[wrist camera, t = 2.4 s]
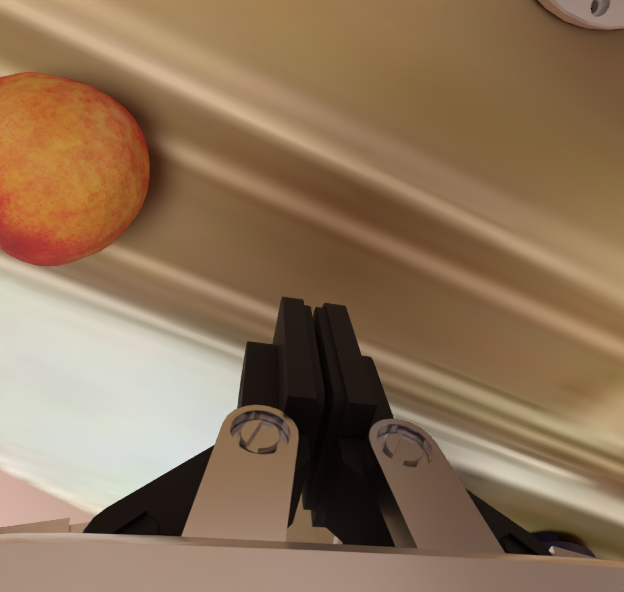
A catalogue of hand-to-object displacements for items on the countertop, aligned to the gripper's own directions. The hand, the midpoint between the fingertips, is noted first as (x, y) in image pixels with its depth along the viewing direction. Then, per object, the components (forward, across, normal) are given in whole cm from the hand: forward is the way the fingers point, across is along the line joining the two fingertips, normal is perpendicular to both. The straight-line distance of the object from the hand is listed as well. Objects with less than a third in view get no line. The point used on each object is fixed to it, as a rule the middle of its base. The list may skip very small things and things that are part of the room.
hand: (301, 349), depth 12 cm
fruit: (+15, +10, -1) cm, 18 cm away
